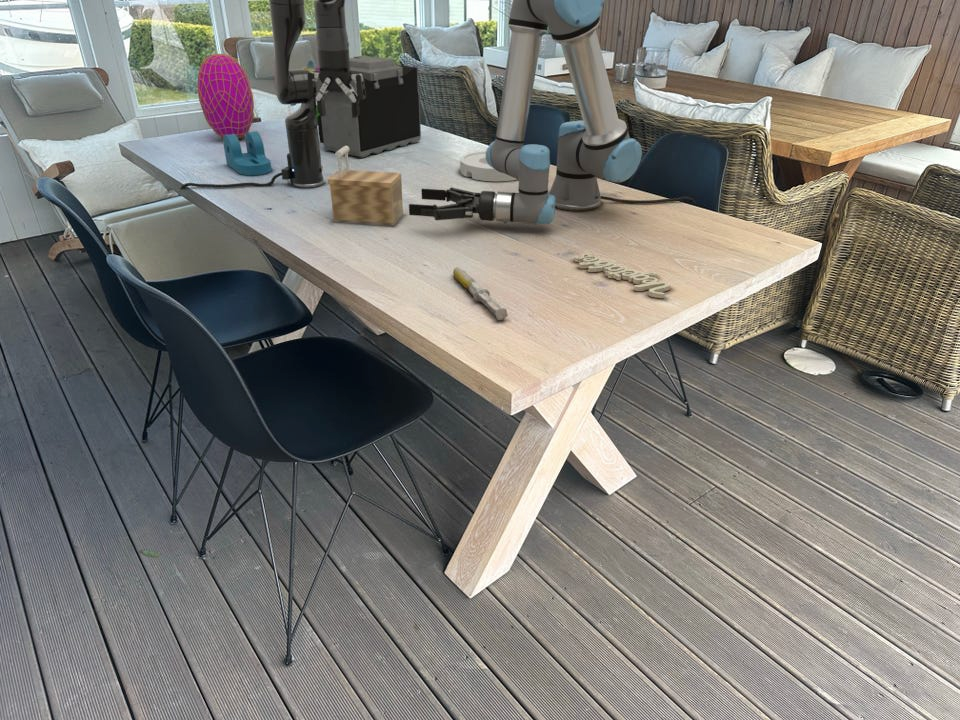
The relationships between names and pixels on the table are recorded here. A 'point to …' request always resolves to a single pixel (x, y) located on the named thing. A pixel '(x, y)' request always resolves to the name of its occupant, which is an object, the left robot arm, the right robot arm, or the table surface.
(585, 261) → the decorative sign
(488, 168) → the ashtray
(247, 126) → the decorative egg
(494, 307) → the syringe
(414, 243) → the table surface
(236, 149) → the camera mount
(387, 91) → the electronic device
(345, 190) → the chest
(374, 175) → the lid
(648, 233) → the table surface
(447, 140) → the table surface
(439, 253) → the table surface
